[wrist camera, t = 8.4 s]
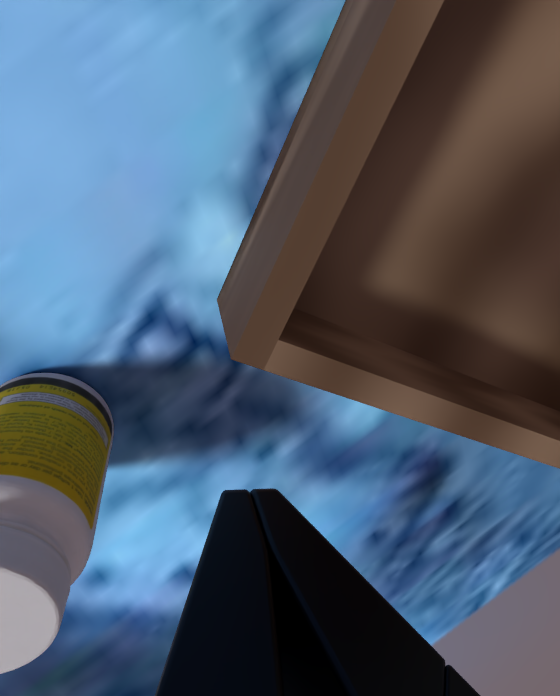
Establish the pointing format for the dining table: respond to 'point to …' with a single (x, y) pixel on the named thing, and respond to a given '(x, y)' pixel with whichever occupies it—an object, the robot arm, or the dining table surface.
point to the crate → (418, 223)
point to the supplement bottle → (46, 503)
